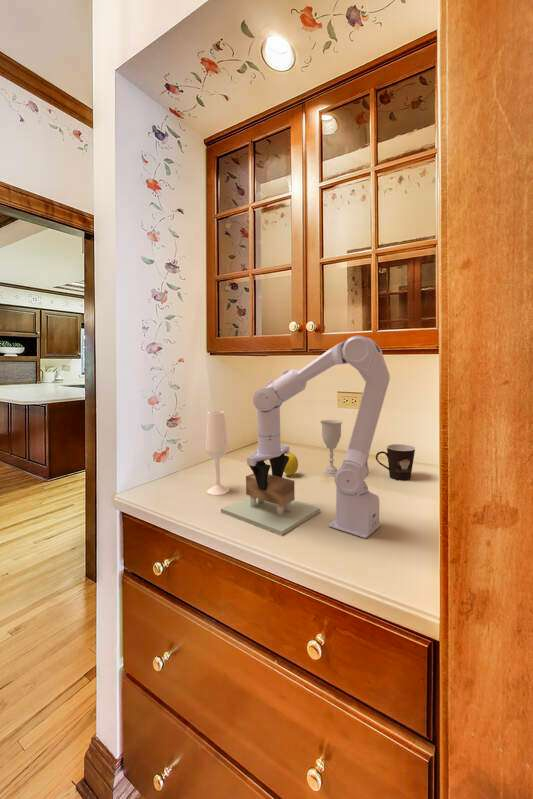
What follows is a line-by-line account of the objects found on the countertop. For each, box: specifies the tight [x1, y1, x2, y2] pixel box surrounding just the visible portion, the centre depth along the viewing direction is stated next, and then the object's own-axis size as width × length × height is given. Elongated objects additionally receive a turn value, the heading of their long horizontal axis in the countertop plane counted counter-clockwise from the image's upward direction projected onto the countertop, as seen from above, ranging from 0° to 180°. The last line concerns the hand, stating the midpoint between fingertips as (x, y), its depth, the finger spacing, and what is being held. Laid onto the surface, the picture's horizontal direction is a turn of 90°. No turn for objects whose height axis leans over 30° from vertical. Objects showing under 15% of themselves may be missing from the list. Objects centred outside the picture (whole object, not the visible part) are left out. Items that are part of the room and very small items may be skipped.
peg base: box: [220, 495, 321, 536], centre depth 95 cm, size 20×16×4 cm
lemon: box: [283, 452, 299, 477], centre depth 123 cm, size 6×6×8 cm
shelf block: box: [245, 472, 296, 506], centre depth 94 cm, size 12×5×5 cm, turn 50°
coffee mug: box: [375, 443, 416, 482], centre depth 120 cm, size 12×9×10 cm
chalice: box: [320, 419, 343, 477], centre depth 123 cm, size 7×7×18 cm
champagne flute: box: [205, 410, 230, 496], centre depth 109 cm, size 7×7×24 cm
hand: (269, 486), depth 94 cm, fingers open, 5 cm apart
